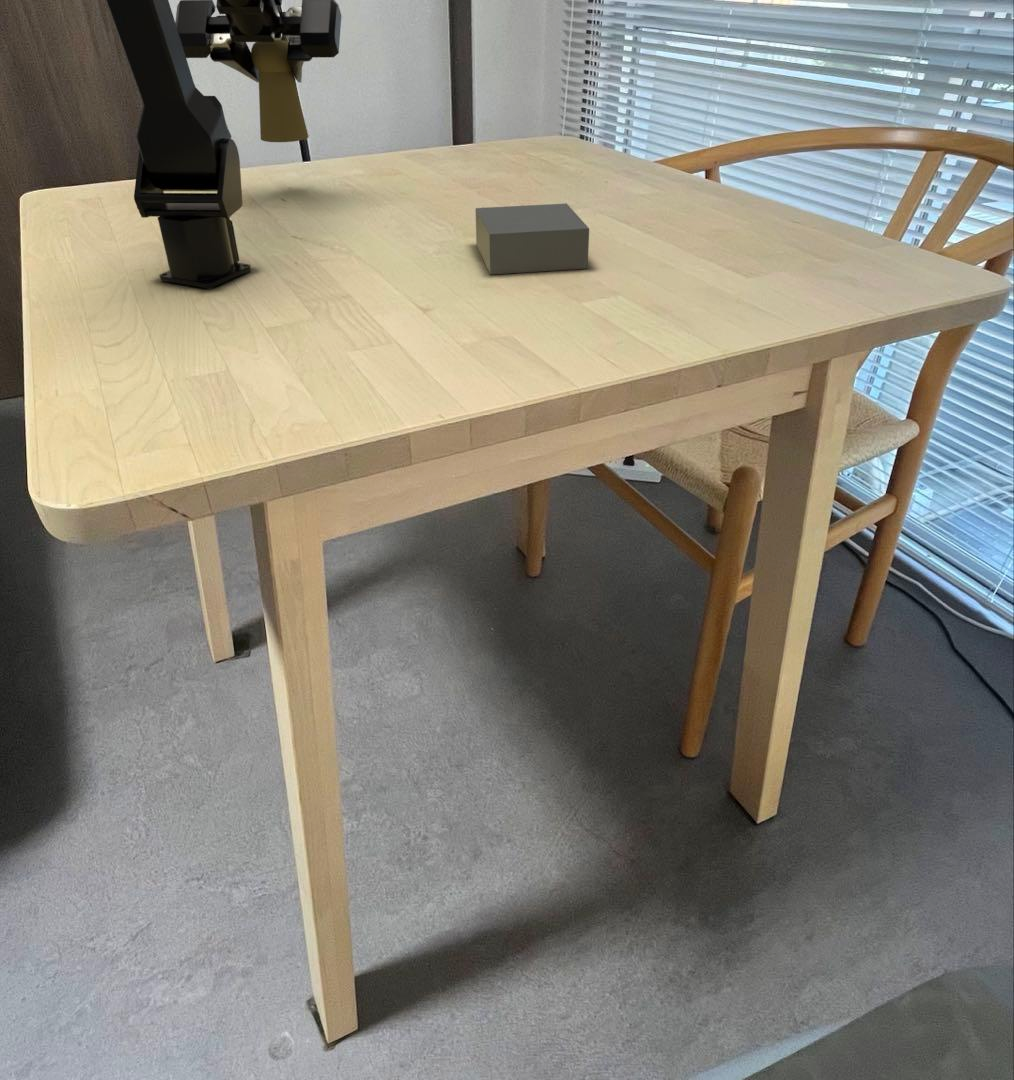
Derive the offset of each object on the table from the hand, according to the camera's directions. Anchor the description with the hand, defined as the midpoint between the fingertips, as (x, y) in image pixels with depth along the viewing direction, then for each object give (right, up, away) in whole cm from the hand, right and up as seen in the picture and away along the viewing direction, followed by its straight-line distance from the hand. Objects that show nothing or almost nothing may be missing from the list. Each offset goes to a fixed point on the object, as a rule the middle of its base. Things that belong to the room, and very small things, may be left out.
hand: (279, 79), depth 109 cm
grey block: (+31, -28, -18) cm, 45 cm away
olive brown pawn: (0, -6, +3) cm, 7 cm away
